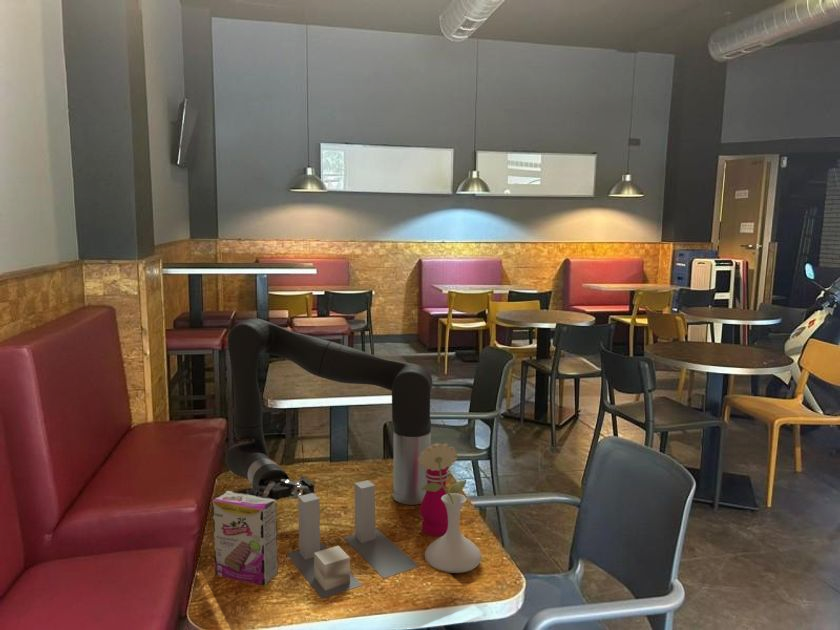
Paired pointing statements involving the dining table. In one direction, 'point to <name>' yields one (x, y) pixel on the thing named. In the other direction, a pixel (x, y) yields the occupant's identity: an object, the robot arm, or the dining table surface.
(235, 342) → the robot arm
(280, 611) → the dining table surface
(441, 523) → the pepper mill
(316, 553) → the pale block
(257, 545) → the candy bar box
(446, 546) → the flower in vase
